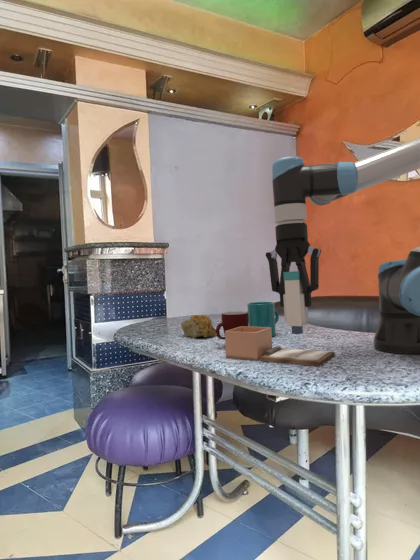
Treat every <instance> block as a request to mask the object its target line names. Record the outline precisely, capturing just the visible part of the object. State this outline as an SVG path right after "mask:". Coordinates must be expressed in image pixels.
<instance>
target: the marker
mask: <svg viewBox="0 0 420 560" xmlns="http://www.w3.org/2000/svg"><path fill="white" fill-rule="evenodd" d="M283 274H284V282H285V298H286V315H287V321H286V326H287V327H291V334H292V335H302V334H303V332H304V330H303V327H304V326H305V325H307V321H302V314H301V297H300V294H303V293H302V292H303V289H302V285H301V280H300V271H298V270H292V271H291V270H290V271H289V272H283Z"/></svg>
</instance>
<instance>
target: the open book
mask: <svg viewBox="0 0 420 560" xmlns="http://www.w3.org/2000/svg"><path fill="white" fill-rule="evenodd" d="M333 357H335V351H329V350H328V351H326V350H314V349H312V350H310V349H298V348H286V347H285V348H284V347H283V348H282V347H281V346H280V345H279V346H278V345H277V346H274V347H272V349H269V350H267V351H266V355H264V356H261V357H260V360H259V361H260V362H264V361H268V362H267V363H275V362H278V363H279V364H286V363H291V364H290V365H298V364H301V365H300V366H309V365H313V366H312V367H321V366H323V363H324V364H325V363H326V362H328V361H329V360H331V358H333ZM320 365H321V366H320Z"/></svg>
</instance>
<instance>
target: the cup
mask: <svg viewBox="0 0 420 560" xmlns="http://www.w3.org/2000/svg"><path fill="white" fill-rule="evenodd" d="M246 305H247V312H248V316H249V323H248V326H250V327H271V330H272V338H273V337H275V336H276V333H277V332H276V325H277V324H278V322H279V312H278V311H277V309H275V302H274V301H256V302H253V301H252V302H248V303H247V304H246Z"/></svg>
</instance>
